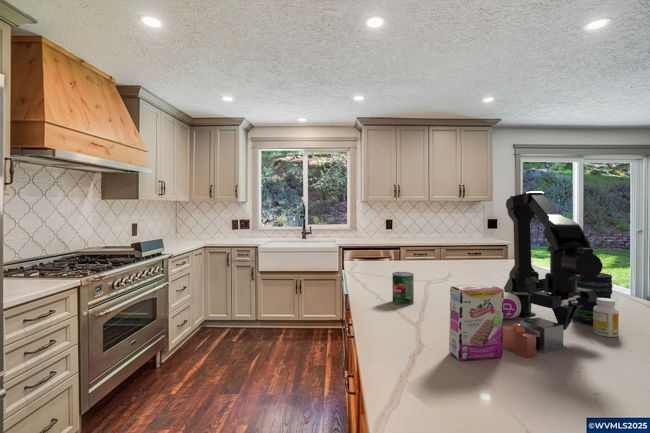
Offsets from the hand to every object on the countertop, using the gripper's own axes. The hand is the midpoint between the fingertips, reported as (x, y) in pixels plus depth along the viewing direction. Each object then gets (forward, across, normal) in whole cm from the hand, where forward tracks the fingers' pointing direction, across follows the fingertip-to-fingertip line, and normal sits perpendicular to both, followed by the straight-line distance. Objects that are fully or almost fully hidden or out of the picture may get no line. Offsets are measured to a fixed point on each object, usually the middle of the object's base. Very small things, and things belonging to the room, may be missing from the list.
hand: (562, 329), depth 87 cm
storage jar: (+3, -25, -7) cm, 26 cm away
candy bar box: (+3, +28, -2) cm, 29 cm away
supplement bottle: (+3, -17, +1) cm, 17 cm away
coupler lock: (+3, +8, 0) cm, 9 cm away
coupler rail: (+3, +12, 0) cm, 12 cm away
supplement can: (-2, +8, -24) cm, 26 cm away
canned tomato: (+3, +17, -48) cm, 51 cm away
